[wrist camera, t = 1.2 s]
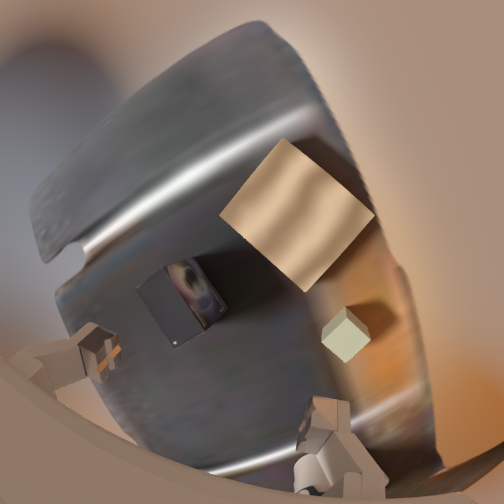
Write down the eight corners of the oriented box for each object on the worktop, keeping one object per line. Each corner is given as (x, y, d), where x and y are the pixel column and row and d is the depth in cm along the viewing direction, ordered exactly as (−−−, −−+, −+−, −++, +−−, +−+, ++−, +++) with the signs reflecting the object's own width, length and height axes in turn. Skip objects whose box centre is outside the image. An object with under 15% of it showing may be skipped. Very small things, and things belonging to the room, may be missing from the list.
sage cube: (367, 326, 42) (371, 339, 37) (344, 348, 43) (345, 363, 39) (345, 306, 43) (346, 317, 38) (322, 328, 44) (321, 342, 39)
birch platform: (370, 214, 40) (374, 215, 36) (307, 285, 44) (305, 292, 40) (286, 143, 42) (282, 137, 38) (228, 215, 45) (219, 215, 41)
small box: (232, 308, 47) (207, 332, 37) (203, 326, 49) (174, 352, 39) (195, 254, 48) (161, 265, 38) (169, 275, 50) (132, 290, 40)
